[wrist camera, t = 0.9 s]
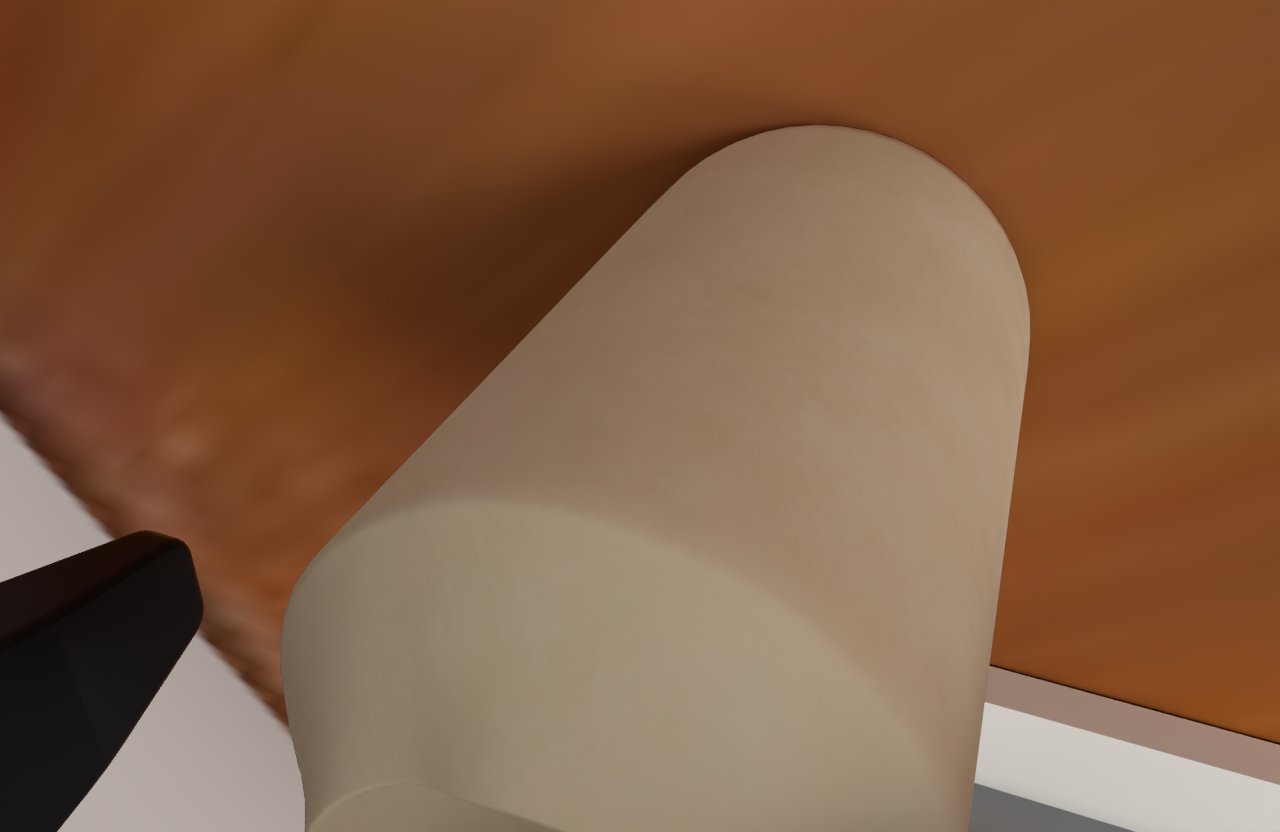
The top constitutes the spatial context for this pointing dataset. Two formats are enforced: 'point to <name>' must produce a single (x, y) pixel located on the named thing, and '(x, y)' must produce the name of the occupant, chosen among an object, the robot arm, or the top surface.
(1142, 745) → the candle tray
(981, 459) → the candle
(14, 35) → the top surface
